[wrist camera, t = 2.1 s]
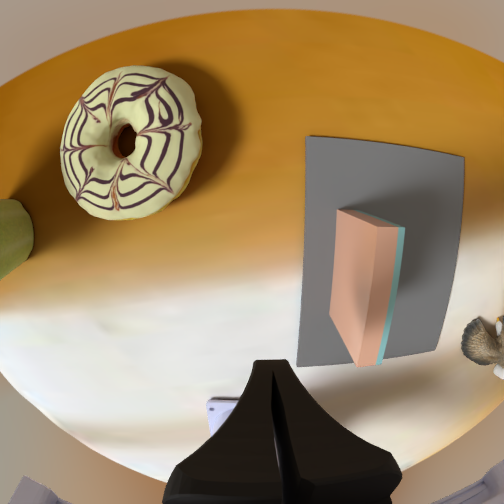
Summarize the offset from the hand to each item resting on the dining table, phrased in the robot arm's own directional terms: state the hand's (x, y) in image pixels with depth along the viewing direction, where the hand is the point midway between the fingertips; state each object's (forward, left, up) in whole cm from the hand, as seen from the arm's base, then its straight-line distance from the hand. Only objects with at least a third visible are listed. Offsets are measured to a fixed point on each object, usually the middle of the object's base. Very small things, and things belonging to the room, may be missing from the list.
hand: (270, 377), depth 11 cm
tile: (+2, -6, -10) cm, 12 cm away
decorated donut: (+11, +9, -11) cm, 18 cm away
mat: (+2, -10, -11) cm, 15 cm away
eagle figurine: (-7, -26, -11) cm, 29 cm away
